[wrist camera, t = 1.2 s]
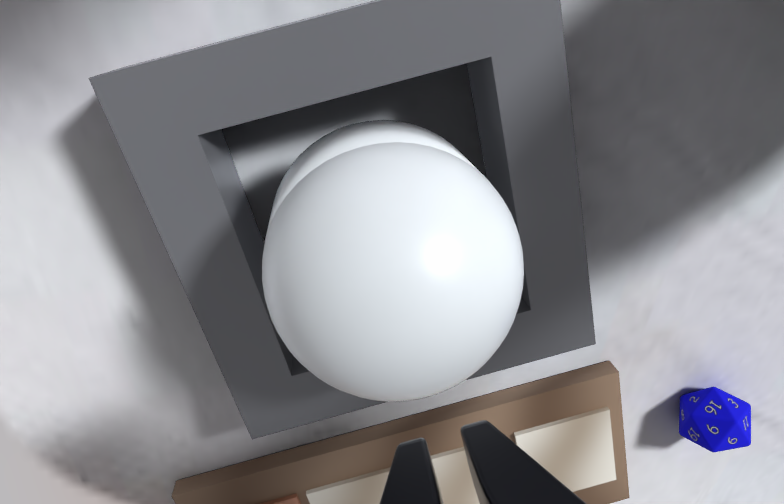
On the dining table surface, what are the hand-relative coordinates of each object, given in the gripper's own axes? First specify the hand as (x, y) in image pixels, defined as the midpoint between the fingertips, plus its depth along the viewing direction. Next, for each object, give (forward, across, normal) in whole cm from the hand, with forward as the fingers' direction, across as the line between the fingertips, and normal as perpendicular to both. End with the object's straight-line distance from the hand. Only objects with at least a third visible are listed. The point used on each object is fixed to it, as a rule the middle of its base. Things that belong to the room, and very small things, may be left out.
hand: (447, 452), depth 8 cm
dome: (+9, 0, 0) cm, 9 cm away
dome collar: (+12, 0, 0) cm, 12 cm away
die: (+12, -12, +13) cm, 21 cm away
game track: (+12, +2, +13) cm, 18 cm away
